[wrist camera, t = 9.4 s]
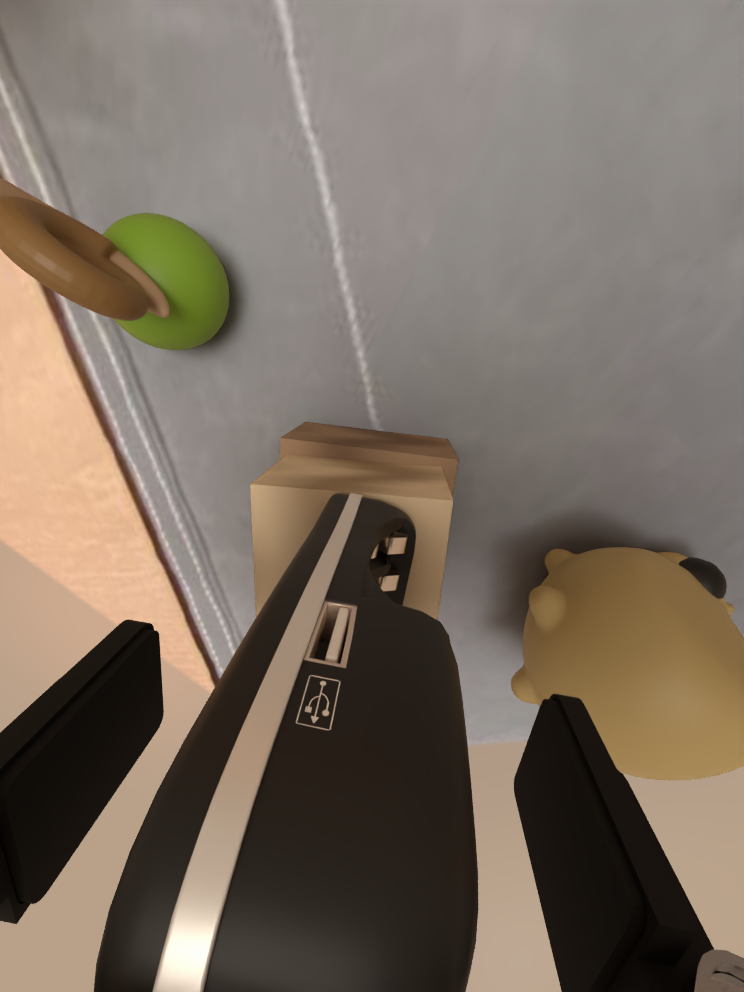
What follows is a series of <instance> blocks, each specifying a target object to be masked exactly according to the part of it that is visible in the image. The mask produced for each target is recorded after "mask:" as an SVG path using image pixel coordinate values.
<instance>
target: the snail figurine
mask: <svg viewBox="0 0 744 992" xmlns="http://www.w3.org/2000/svg"><path fill="white" fill-rule="evenodd" d="M0 249H1V250H2V251H3V252H4V253H5V254H6V255H7V256H8V257H9V258H10V259H11V260H12V261H13V262H14V263H15V264H16V265H18V266H19V267H20V268H21V269H22V270H24V271H25V272H26V273H28V274H29V275H31V276H32V277H33V278H35V279H36V280H38V281H39V282H41V283H42V284H44V285H45V286H47V287H48V288H50V289H51V290H53V291H55V292H57V293H58V294H60V295H62V296H63V297H65V298H67V299H69V300H71V301H73V302H75V303H76V304H78V305H80V306H83V307H85V308H87V309H89V310H91V311H94V312H96V313H99V314H101V315H104V316H107V317H110V318H113V319H114V320H115V321H116V322H117V323H118V324H119V325H120V326H121V327H122V328H123V329H124V330H125V331H126V332H128V333H129V334H130V335H132V336H133V337H135V338H136V339H138V340H140V341H142V342H144V343H146V344H148V345H151V346H154V347H157V348H161V349H167V350H185V349H190V348H194V347H197V346H199V345H201V344H203V343H205V342H207V341H208V340H210V339H211V338H212V337H213V336H214V335H215V334H216V333H217V332H218V331H219V329H220V328H221V326H222V325H223V323H224V321H225V318H226V315H227V312H228V308H229V285H228V280H227V277H226V273H225V271H224V268H223V266H222V264H221V262H220V260H219V258H218V256H217V255H216V253H215V252H214V250H213V249H212V248H211V246H210V245H209V244H208V243H207V242H206V241H205V240H204V239H203V238H202V237H201V236H200V235H199V234H198V233H197V232H196V231H194V230H193V229H191V228H190V227H189V226H187V225H185V224H184V223H182V222H180V221H178V220H175V219H173V218H170V217H167V216H163V215H159V214H151V213H143V214H135V215H130V216H127V217H125V218H122V219H120V220H118V221H117V222H115V223H114V224H113V225H111V226H110V227H109V228H108V229H107V230H106V231H105V232H104V234H103V235H101V234H100V233H98V232H96V231H95V230H93V229H91V228H90V227H88V226H86V225H84V224H83V223H81V222H79V221H77V220H75V219H73V218H72V217H70V216H68V215H66V214H64V213H62V212H60V211H58V210H56V209H54V208H52V207H51V206H49V205H47V204H45V203H44V202H42V201H40V200H39V199H37V198H35V197H33V196H32V195H30V194H28V193H26V192H25V191H23V190H21V189H20V188H18V187H16V186H14V185H13V184H11V183H9V182H7V181H5V180H4V179H2V178H0Z"/></svg>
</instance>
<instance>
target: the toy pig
mask: <svg viewBox="0 0 744 992" xmlns="http://www.w3.org/2000/svg"><path fill="white" fill-rule="evenodd" d="M545 565H546V568H547V570H548V572H549V575H548V576H547V577H546V579H545V580H544V581H543V582H542V584H541V585H540V586H538V587H536V588H534V589H533V590H532V591H531V593H530V595H529V609H528V612H527V616H526V620H525V625H524V632H523V656H524V665H523V667H522V668H521V669H520V670H518V671H517V672H516V673H515V674H514V676H513V677H512V680H511V687H512V691H513V692H514V694H515V695H516V697H517V698H519V699H520V700H522V701H524V702H528V703H534V704H537V705H539V706H541V703H542V701H543V700H544V699H549V698H550V696H551V695H552V694H560V695H565V696H571V697H577V698H580V699H581V700H582V702H583V703H584V705H585V707H586V709H587V711H588V713H589V715H590V717H591V719H592V721H593V723H594V725H595V727H596V729H597V731H598V733H599V735H600V737H601V739H602V741H603V743H604V745H605V747H606V749H607V751H608V753H609V755H610V756H611V758H612V760H613V762H614V764H615V766H616V768H617V769H618V770H619V771H620V772H622V773H625V774H628V775H632V776H636V777H641V778H647V779H656V780H691V779H699V778H706V777H711V776H716V775H720V774H723V773H727V772H730V771H732V770H735V769H737V768H739V767H742V766H744V638H743V636H742V635H741V633H740V632H739V630H738V629H737V627H736V626H735V624H734V623H733V621H732V620H731V617H730V615H731V614H732V613H733V611H734V607H733V605H731V604H729V603H726V602H725V600H724V598H723V597H724V595H725V592H726V579H725V577H724V575H723V573H722V572H721V571H720V570H719V569H718V567H717V566H715V565H714V564H712V563H711V562H708V561H705V560H702V559H699V558H692V557H687V556H685V555H682V554H679V553H674V552H660V553H655V552H652V551H649V550H645V549H640V548H630V547H609V548H600V549H595V550H590V551H586V552H583V553H580V554H573V553H571V552H569V551H566V550H563V549H553V550H551V551H549V552H548V553H547V555H546V556H545Z"/></svg>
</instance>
